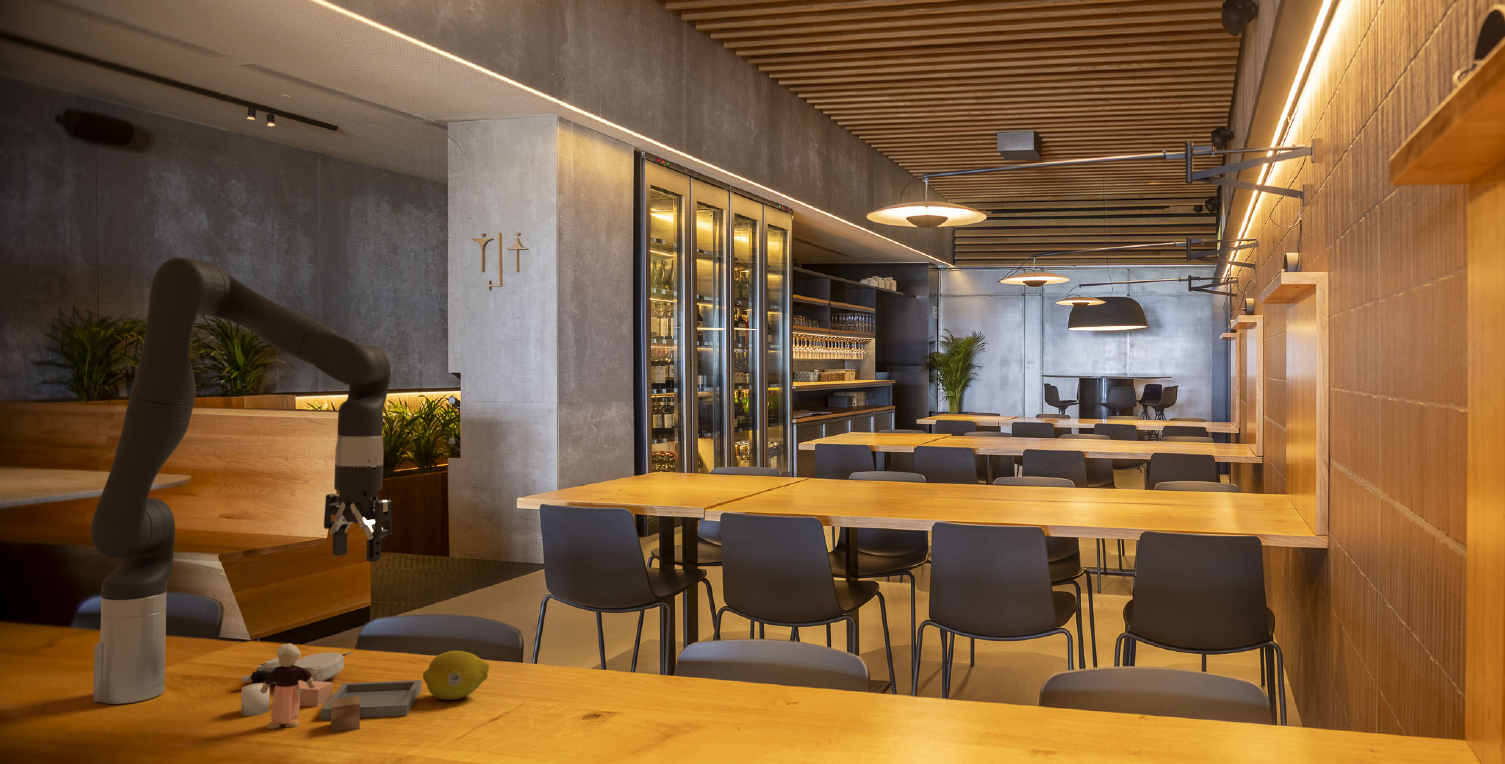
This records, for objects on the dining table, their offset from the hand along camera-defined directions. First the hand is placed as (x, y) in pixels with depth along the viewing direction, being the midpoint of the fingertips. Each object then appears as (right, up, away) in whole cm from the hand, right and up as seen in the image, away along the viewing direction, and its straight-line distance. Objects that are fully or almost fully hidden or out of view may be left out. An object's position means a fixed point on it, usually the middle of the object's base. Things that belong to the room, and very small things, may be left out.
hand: (356, 558), depth 154 cm
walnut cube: (+3, -24, -12) cm, 27 cm away
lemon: (+16, -25, +1) cm, 29 cm away
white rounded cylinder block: (-14, -24, -6) cm, 28 cm away
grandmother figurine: (-6, -24, -12) cm, 27 cm away
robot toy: (-15, -24, +9) cm, 30 cm away
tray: (+4, -24, -2) cm, 24 cm away
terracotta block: (-8, -24, -1) cm, 25 cm away
